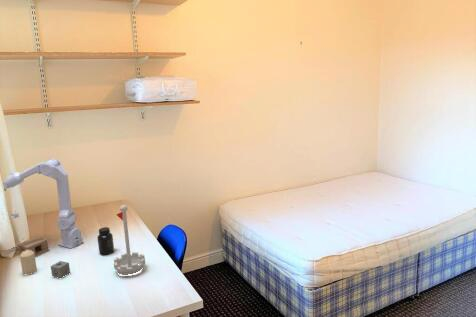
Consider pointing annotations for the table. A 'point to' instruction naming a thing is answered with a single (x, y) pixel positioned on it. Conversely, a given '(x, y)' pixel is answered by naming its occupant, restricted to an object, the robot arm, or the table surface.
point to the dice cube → (60, 269)
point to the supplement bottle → (105, 241)
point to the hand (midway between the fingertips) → (10, 229)
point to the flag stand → (128, 252)
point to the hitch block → (34, 246)
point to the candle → (28, 262)
